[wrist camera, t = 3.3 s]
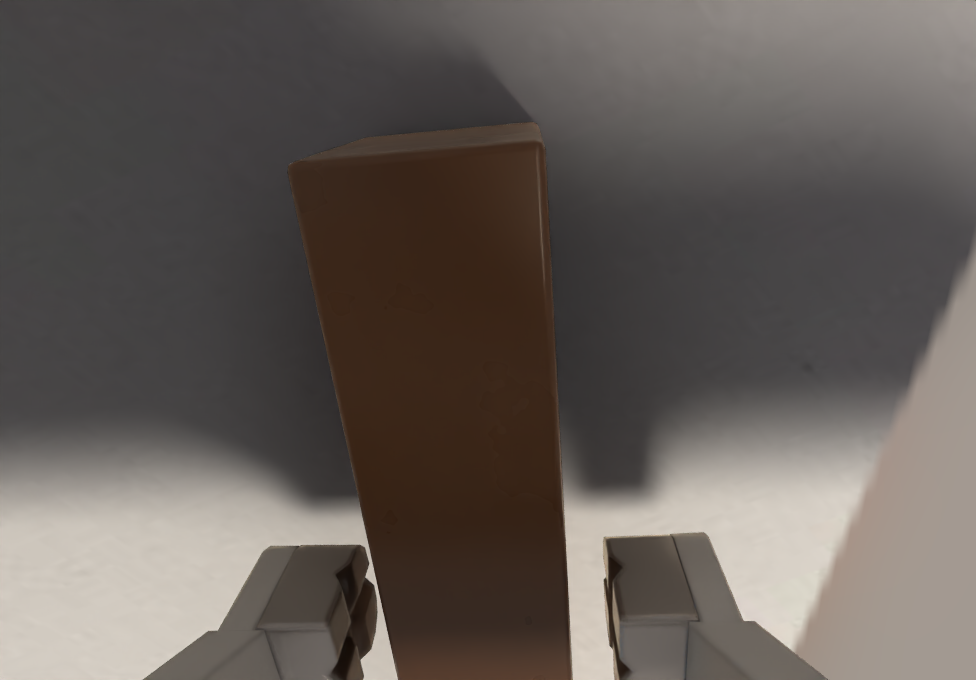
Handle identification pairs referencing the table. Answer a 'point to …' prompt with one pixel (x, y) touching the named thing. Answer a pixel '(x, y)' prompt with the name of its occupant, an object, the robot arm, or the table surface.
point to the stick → (448, 389)
